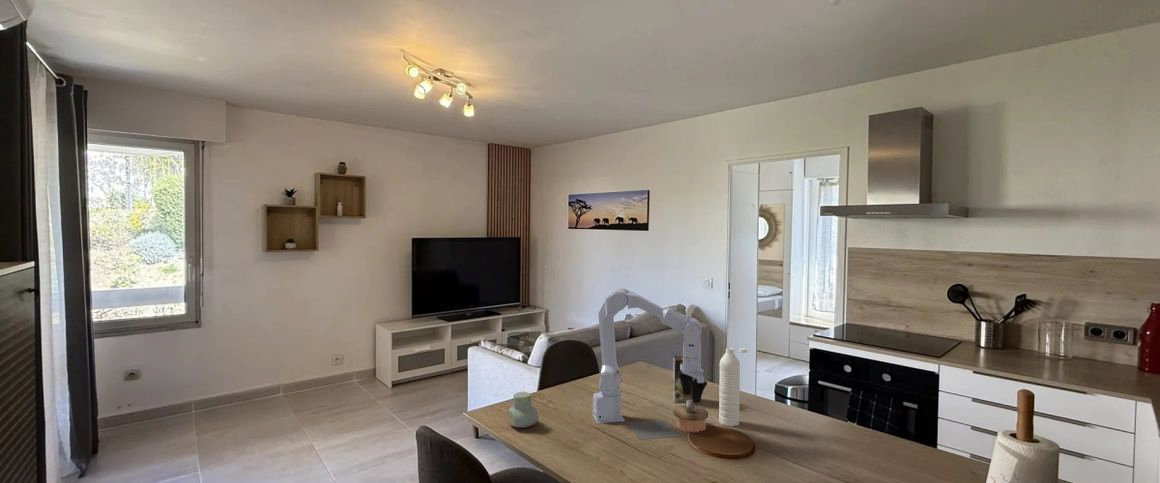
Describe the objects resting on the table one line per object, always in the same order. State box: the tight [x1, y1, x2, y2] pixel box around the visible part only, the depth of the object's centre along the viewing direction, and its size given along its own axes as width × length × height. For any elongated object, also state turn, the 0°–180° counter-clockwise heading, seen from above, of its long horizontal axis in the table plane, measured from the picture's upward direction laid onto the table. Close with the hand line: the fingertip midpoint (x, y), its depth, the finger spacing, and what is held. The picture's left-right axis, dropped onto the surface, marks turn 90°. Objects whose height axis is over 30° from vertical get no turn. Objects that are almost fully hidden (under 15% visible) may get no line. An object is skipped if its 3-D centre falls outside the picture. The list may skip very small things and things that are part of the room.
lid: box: [673, 400, 709, 421], centre depth 156 cm, size 11×11×4 cm
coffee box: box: [671, 355, 699, 405], centre depth 181 cm, size 9×6×16 cm
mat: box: [627, 419, 681, 441], centre depth 154 cm, size 13×13×1 cm
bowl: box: [676, 417, 707, 433], centre depth 156 cm, size 9×9×4 cm
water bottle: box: [718, 347, 748, 427], centre depth 160 cm, size 9×6×25 cm
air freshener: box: [506, 391, 539, 429], centre depth 159 cm, size 11×8×10 cm
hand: (691, 398), depth 156 cm, fingers open, 7 cm apart
